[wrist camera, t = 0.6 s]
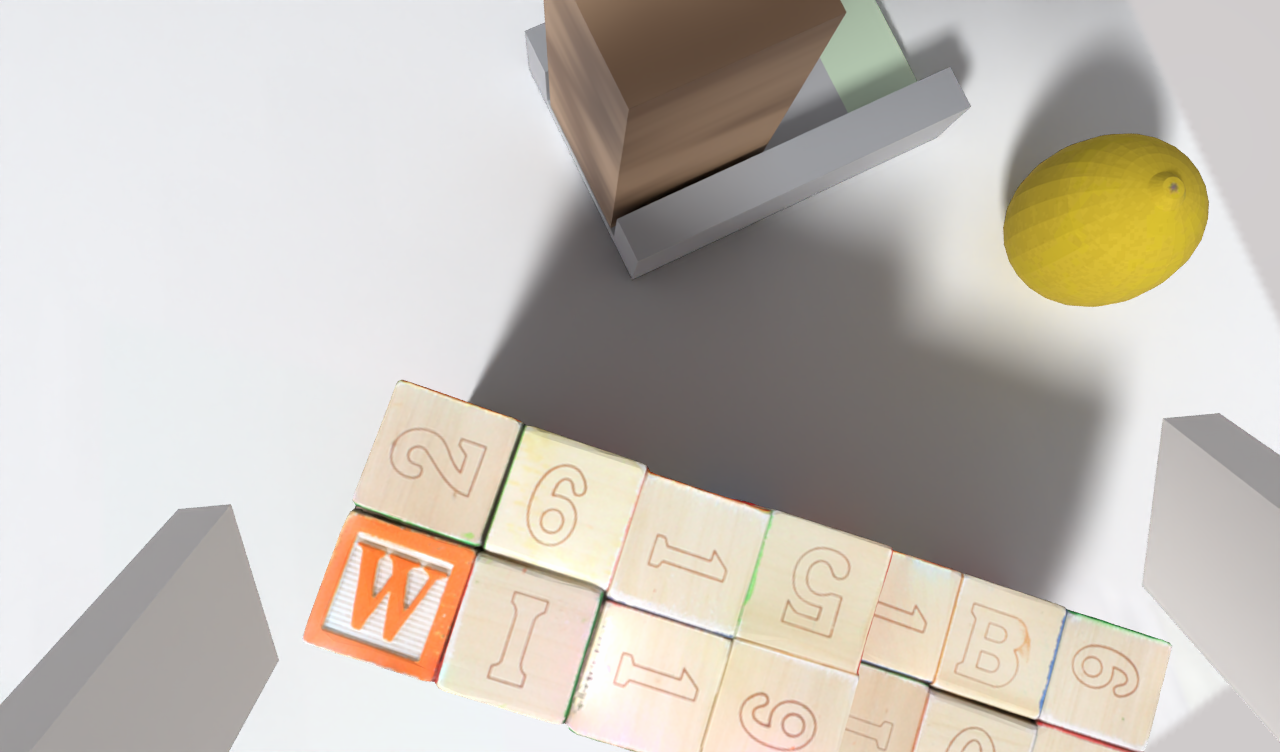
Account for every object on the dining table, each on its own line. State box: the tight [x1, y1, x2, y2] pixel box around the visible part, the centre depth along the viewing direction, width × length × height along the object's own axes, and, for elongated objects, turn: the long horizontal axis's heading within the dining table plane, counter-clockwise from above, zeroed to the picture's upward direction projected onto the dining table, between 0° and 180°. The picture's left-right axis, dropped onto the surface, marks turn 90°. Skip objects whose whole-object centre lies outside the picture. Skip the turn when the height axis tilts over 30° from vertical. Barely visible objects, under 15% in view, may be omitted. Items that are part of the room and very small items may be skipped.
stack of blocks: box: [303, 380, 1172, 752], centre depth 27 cm, size 21×6×12 cm, turn 71°
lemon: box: [1003, 134, 1209, 307], centre depth 31 cm, size 6×6×8 cm
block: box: [544, 0, 847, 228], centre depth 28 cm, size 5×6×11 cm
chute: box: [525, 0, 971, 280], centre depth 33 cm, size 9×13×3 cm
